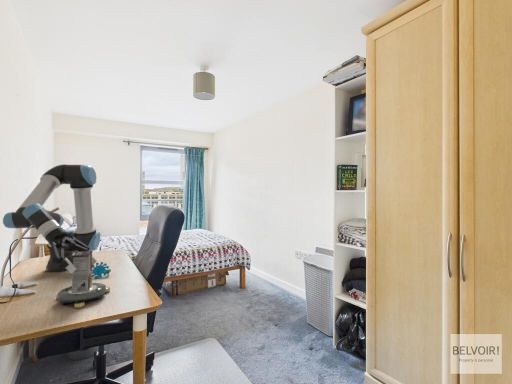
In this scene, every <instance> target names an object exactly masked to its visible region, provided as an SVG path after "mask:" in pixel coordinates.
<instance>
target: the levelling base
mask: <svg viewBox="0 0 512 384" xmlns="http://www.w3.org/2000/svg"><path fill="white" fill-rule="evenodd" d="M110 292H111V287H110V286H107V285H106V284H104V283H100V282H92V286H91V288H90V290H89V291H88V292H80V293H72V285H71V286H68V287H66V288H63V289H60V291H59V292H58V293H57V294H56V297H55V299H56V300H57V301H59V302H61V306H67V305H70V304H71V303H74V304H73V306H74V310H82V309H83V308H85V307H86V302H87V301H89V300H92V301H100V300H101V298H102V296H103V295H105V294H107V293H110ZM85 301H86V302H85Z"/></svg>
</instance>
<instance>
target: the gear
mask: <svg viewBox="0 0 512 384" xmlns="http://www.w3.org/2000/svg"><path fill="white" fill-rule="evenodd" d="M109 267H110V266H109V265H108V264H107V263H106V262H103V261H100V264H99V262H96V263H95V264H94V265H92V278H94V279H98V277H99V279H103V276H110V273H111V272H112V270H111V268H109Z"/></svg>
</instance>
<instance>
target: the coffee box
mask: <svg viewBox="0 0 512 384" xmlns="http://www.w3.org/2000/svg"><path fill="white" fill-rule="evenodd" d="M92 255H93V251H79V252H78V251H75V253H73V256H72V264H73V265H74V266H75V268H76V270H75V271H74V272H73V273H72V274H71V275H72V276H71V286H72V293H80V292H88V291H89V290H90V288H91V286H92V283H93V277H92V275H93V274H92V272H93V271H92V270H93V267H92Z"/></svg>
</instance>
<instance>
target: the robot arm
mask: <svg viewBox="0 0 512 384" xmlns="http://www.w3.org/2000/svg"><path fill="white" fill-rule="evenodd" d="M39 180H40V181H39V183H38V184H37V185H36V186H35V187H34V189H33V190H32V191H31V192H30V193H29V195H28V196H27V197H26V198H25V200H23V202H22V203H21V204H20V206H19V207H18V208H17V209H16V210H15V211H12V212H6V213H5V214H4V216H3V218H2V224H3V226H4V227H5V228H7V229H17V230H18V229H35V230H36V231H37V232H38V233H39V234H40V235H41V236H42V237H43V238H44V240H46V241H47V242H48V243H47V244H46V247H47V248H48V250H49V257H48V258H49V259H48V261H47V264H46V267H45V271H46V272H49V273H51V272H52V273H57V272H65V271H68V272H69V274H71V275H72V273H73V272H74V271H75V270H76V268H75V266H74V265H73V264H72V256H73V255H74V252H79V251H92V252H93V251H96V250H97V249H98V247H99V246H100V242H101V232H99V231H97V228H96V226H94V221H93V220H94V219H93V207H92V193H91V192H92V191H91V190H92V188H94V185H95V184H96V183H97V173H96V171H95V169H94V167H93V166H91V165H86V164H59V165H56V166H54V167H52V168H50V169H48V170H46V171H45V172H44V173H43V174H42V175H41V176H40V179H39ZM62 185H69V188H70V189H72V190H73V199H74V209H75V210H74V211H75V212H74V213H75V220H76V221H75V222H76V228H75V230H73V229H67V230H65V229H64V228H63V227H62V226H63V224H64V216H62V215H61V214H59V213H57V212H53V211H50V210H47V209H45V208H44V207H45V206H44V205H45V203H47V200H48V199H49V197H50V196H51V195H52V193H53V192H54V191H55V190H56V189H57V188H59V187H60V186H62ZM31 225H33V226H32V227H31V228H29V227H30V226H31ZM96 263H98V259H97V258H96V257H95V256H94V255H93V254H92V265H94V266H95V265H96Z"/></svg>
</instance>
